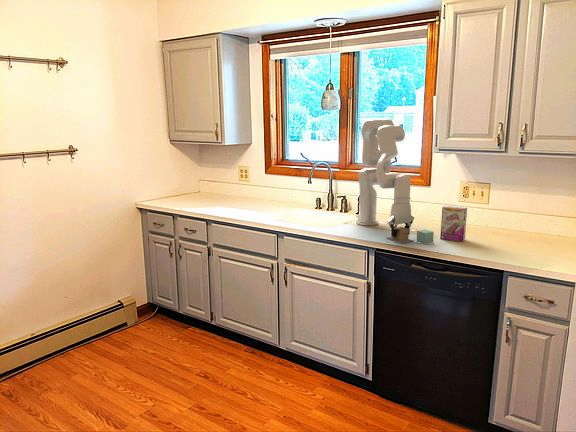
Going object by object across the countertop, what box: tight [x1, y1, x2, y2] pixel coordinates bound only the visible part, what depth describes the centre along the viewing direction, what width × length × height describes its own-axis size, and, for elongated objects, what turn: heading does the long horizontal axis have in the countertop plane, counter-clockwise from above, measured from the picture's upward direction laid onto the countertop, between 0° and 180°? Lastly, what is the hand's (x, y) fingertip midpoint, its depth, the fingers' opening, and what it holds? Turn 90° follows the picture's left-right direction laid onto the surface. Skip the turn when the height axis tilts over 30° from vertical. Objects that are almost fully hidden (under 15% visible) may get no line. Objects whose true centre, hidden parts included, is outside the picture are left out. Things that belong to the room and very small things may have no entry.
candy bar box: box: [439, 205, 468, 243], centre depth 234 cm, size 11×5×16 cm, turn 59°
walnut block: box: [391, 226, 409, 241], centre depth 235 cm, size 6×6×6 cm
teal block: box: [416, 229, 434, 245], centre depth 231 cm, size 6×6×6 cm
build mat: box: [386, 236, 415, 245], centre depth 235 cm, size 12×7×1 cm, turn 30°
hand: (400, 235), depth 235 cm, fingers open, 8 cm apart
